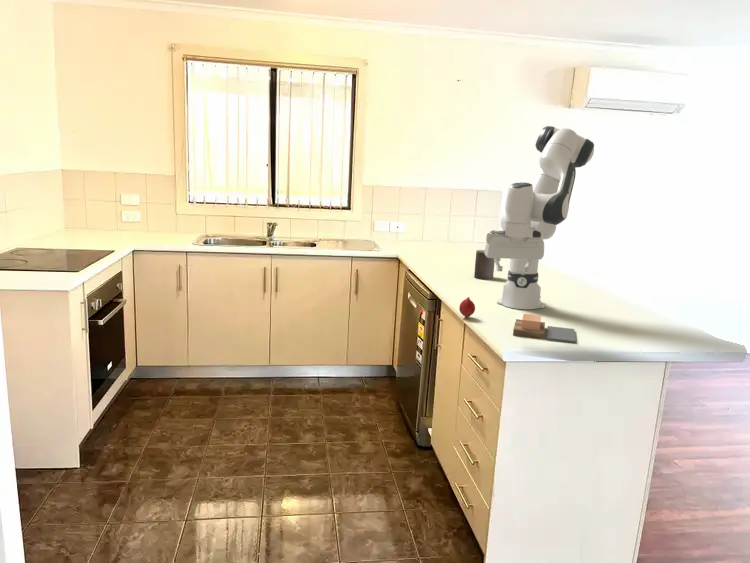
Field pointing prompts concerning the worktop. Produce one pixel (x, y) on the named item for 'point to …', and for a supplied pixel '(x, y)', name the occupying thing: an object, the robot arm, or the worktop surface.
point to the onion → (467, 307)
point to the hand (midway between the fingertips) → (512, 271)
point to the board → (528, 330)
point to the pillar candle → (483, 266)
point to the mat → (561, 334)
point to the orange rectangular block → (531, 322)
